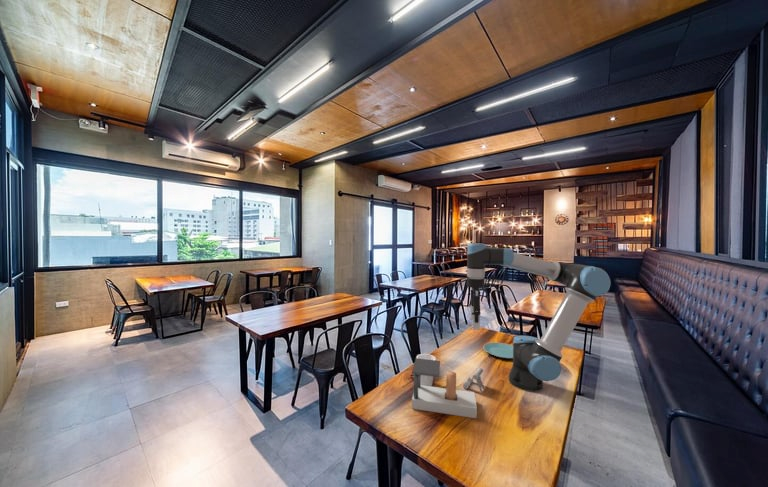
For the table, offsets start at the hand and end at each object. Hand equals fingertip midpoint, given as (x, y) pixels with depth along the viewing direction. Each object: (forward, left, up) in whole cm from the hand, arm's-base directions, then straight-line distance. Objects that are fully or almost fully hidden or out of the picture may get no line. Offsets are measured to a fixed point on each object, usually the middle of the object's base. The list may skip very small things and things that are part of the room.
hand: (474, 324), depth 126 cm
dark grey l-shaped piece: (+21, +10, -29) cm, 37 cm away
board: (+13, +10, -33) cm, 37 cm away
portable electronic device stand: (-1, -8, -33) cm, 34 cm away
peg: (+10, +10, -33) cm, 36 cm away
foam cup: (+22, -5, -33) cm, 40 cm away
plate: (-21, -53, -33) cm, 66 cm away
